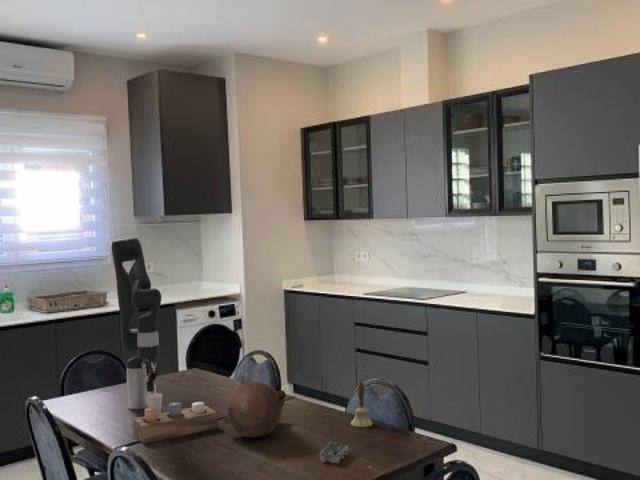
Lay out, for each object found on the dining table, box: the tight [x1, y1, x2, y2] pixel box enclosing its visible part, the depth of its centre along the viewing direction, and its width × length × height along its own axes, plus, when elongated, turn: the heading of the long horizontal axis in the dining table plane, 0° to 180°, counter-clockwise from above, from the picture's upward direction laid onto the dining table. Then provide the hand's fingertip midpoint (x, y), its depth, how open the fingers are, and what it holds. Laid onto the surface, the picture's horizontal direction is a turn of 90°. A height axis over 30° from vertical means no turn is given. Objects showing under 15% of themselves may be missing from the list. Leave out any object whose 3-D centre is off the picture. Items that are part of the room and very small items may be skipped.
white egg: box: [191, 401, 205, 414], centre depth 242 cm, size 5×5×6 cm
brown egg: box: [144, 407, 158, 423], centre depth 233 cm, size 5×5×6 cm
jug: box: [223, 381, 287, 439], centre depth 234 cm, size 20×20×30 cm
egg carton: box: [318, 440, 349, 464], centre depth 206 cm, size 10×7×4 cm
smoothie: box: [146, 384, 163, 414], centre depth 252 cm, size 6×6×14 cm
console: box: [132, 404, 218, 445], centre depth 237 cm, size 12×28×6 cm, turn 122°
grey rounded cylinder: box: [168, 401, 183, 418], centre depth 237 cm, size 5×5×6 cm
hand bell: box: [350, 381, 373, 428], centre depth 239 cm, size 8×8×16 cm
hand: (150, 391), depth 232 cm, fingers closed
